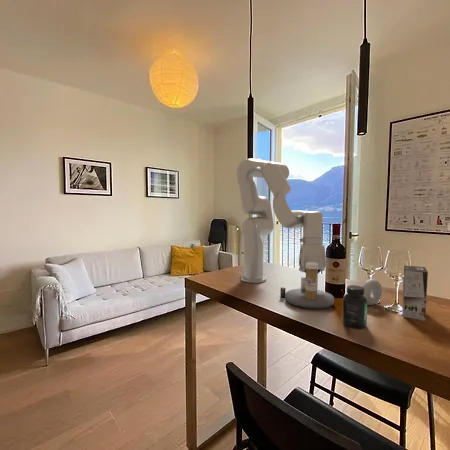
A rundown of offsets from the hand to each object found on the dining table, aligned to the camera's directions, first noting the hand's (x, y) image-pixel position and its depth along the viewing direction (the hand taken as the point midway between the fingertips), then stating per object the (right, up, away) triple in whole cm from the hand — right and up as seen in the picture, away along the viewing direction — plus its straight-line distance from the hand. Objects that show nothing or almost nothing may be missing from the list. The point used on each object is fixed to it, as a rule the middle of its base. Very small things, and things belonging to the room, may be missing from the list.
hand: (311, 284), depth 114 cm
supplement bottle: (+5, -7, -27) cm, 28 cm away
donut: (+19, -5, -11) cm, 22 cm away
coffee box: (+29, -6, -20) cm, 35 cm away
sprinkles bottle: (-4, -3, -11) cm, 12 cm away
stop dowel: (-12, -5, -2) cm, 13 cm away
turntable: (-3, -4, -7) cm, 8 cm away
